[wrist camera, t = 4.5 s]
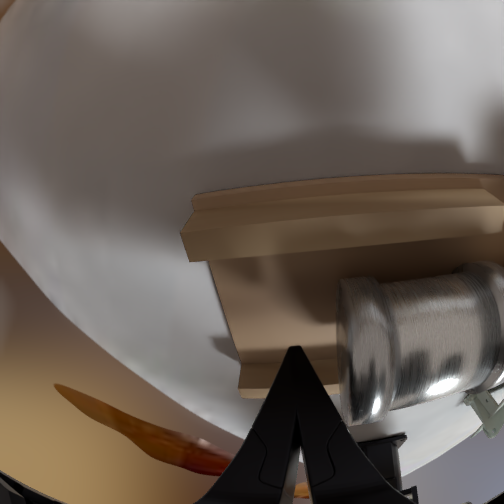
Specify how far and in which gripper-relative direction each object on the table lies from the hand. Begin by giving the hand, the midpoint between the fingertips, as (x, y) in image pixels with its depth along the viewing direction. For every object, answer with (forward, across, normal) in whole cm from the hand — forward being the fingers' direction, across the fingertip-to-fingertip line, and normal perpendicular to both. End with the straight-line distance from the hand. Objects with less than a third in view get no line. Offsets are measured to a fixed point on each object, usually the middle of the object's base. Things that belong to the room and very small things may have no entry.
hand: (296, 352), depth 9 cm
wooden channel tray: (+2, -6, 0) cm, 7 cm away
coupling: (+2, -5, 0) cm, 5 cm away
